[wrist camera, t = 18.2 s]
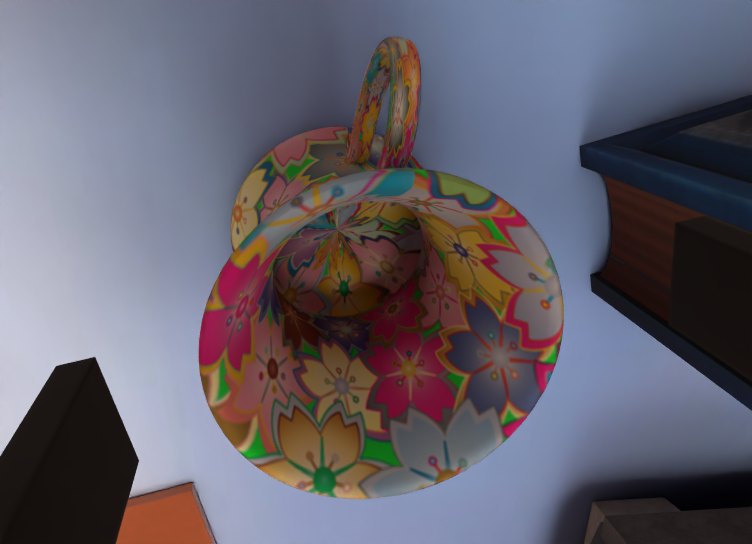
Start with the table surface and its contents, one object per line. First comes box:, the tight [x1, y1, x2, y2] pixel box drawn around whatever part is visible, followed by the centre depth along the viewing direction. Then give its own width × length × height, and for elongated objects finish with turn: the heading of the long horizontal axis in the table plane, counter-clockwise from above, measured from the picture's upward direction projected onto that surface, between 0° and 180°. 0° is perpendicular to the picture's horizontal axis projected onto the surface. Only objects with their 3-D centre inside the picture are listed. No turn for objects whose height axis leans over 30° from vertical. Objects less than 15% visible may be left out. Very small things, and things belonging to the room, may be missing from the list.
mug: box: [199, 37, 564, 499], centre depth 18 cm, size 12×9×11 cm
